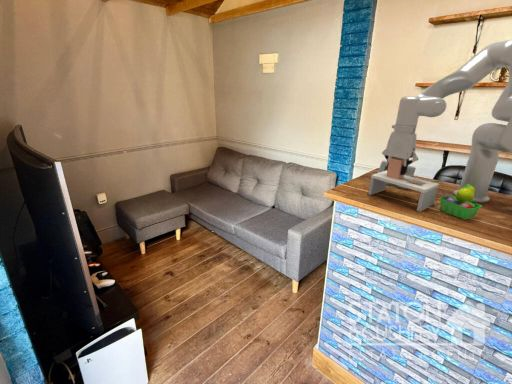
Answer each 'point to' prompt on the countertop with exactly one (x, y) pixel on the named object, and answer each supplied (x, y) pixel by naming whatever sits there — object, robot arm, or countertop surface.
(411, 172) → the digital clock
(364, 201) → the countertop surface
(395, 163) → the peg
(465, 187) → the fruit basket
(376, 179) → the keyhole board
